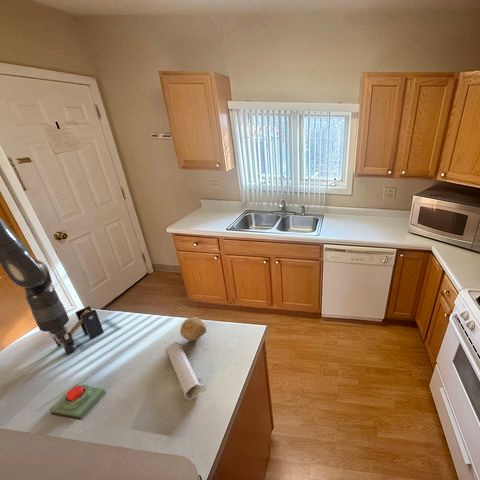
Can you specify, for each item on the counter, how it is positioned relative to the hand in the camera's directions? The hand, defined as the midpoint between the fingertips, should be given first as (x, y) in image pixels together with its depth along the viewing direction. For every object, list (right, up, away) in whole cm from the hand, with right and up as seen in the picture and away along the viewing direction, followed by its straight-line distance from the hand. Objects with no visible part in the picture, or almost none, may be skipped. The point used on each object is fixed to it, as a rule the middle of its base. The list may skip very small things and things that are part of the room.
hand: (66, 349), depth 95 cm
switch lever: (+3, +7, +2) cm, 8 cm away
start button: (+21, -6, -18) cm, 28 cm away
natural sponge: (+43, 0, +10) cm, 44 cm away
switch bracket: (+4, +2, +8) cm, 9 cm away
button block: (+21, -10, -17) cm, 28 cm away
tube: (+46, -6, -5) cm, 47 cm away
